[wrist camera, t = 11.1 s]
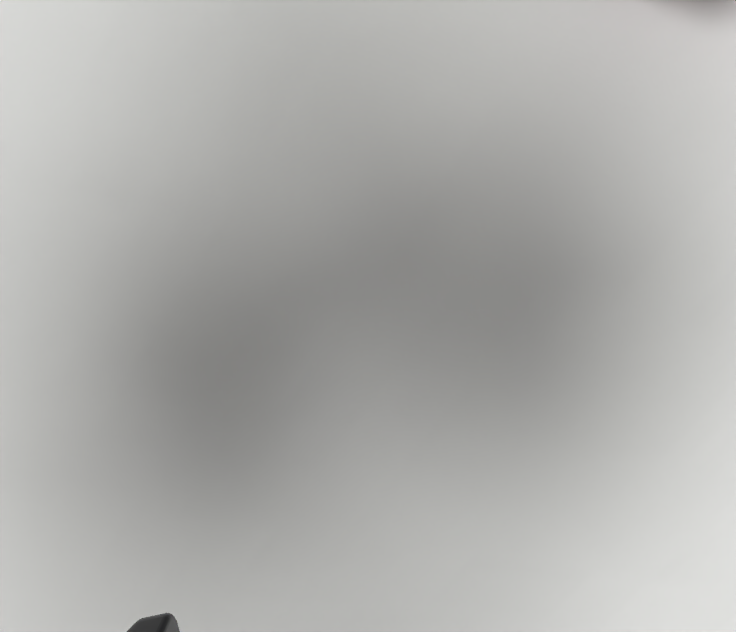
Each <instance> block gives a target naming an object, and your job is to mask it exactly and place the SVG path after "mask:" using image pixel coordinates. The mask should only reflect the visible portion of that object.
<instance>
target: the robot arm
mask: <svg viewBox="0 0 736 632" xmlns="http://www.w3.org/2000/svg"><path fill="white" fill-rule="evenodd" d="M127 632H180V631H179V627H178V624H177V621H176V619H175V617H174V616H173V615H172V614H170V613H165V614H160V615H155V616H150V617H145V618H142V619H140V620H138V621H137V622H136V623H135V624H134V625H133V626H132V627H131V628H130V629H129V630H128V631H127Z"/></svg>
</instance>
